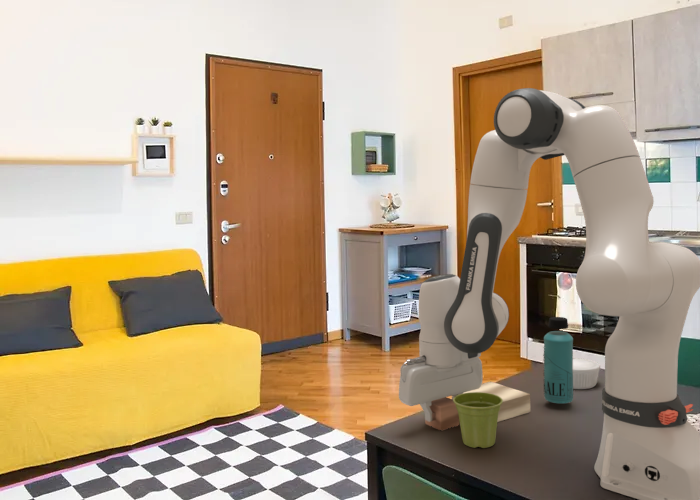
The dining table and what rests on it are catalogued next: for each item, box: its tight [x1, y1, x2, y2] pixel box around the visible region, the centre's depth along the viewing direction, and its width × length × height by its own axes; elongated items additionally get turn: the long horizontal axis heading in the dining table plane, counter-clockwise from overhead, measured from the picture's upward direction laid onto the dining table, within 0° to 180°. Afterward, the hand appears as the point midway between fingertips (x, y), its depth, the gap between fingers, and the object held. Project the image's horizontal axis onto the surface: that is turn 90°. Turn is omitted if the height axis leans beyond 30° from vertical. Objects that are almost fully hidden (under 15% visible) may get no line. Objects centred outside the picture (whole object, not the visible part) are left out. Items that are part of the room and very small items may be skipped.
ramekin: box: [573, 357, 601, 390], centre depth 160 cm, size 11×11×5 cm
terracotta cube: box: [424, 397, 460, 431], centre depth 136 cm, size 5×5×5 cm
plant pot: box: [453, 392, 503, 449], centre depth 125 cm, size 9×9×9 cm
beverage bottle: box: [542, 316, 574, 404], centre depth 144 cm, size 6×7×20 cm
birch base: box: [451, 381, 531, 423], centre depth 143 cm, size 12×12×4 cm
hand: (442, 417), depth 136 cm, fingers closed on terracotta cube, 5 cm apart
